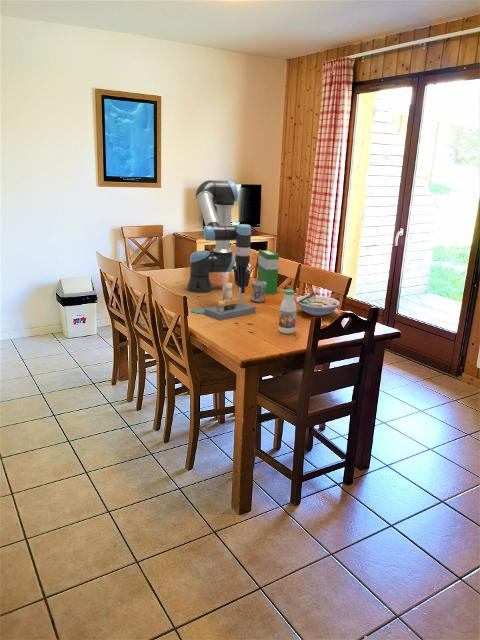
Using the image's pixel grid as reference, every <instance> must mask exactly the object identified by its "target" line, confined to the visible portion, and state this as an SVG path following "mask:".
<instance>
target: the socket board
mask: <svg viewBox="0 0 480 640" xmlns="http://www.w3.org/2000/svg"><path fill="white" fill-rule="evenodd" d="M256 311H257V310H256V306H254V305H251V304H248V303H245V302H241V303H236V306H234V307H232V309H228V310H225V309H224V307H218V305H217V306H212V307H211V306H210V307H205V309H204V314H203V315H205V314H206V315H205V316H208V317H210V316H211V318H213V317H214V318H213V319H215V318H216V320H218V319H219V320H218V321H225V320H228V318H229V319H233V318H237V317H242V316H245V315H246V316H247V315H250V314H254V313H256ZM224 319H225V320H224Z"/></svg>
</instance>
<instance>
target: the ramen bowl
mask: <svg viewBox="0 0 480 640" xmlns="http://www.w3.org/2000/svg"><path fill="white" fill-rule="evenodd" d="M318 294H319V293H318V292H316V293H315V292H312V293H310V294H309V295H302V296H298V297H297V298H296V304H298V306H299V309H301V310H302V311H303V312H305V313H307V314H309V315H310V316H314V317H323V316H325V315H328V314H332V313H333V312H334V311H335V310H336V309H337V308H338V306H339V305H340V301H339V300H338V299H335V298H333V297H329V296H324V295H318Z"/></svg>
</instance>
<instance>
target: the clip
mask: <svg viewBox="0 0 480 640" xmlns="http://www.w3.org/2000/svg"><path fill="white" fill-rule="evenodd" d="M250 301H251V296H249V295H247V296H244V297H241V298H238V297H236V298H232V299H231V300H225V301H222V300H218V301H217V306H218V307H224V306H226V305H231V304H236V303H241V302H242V303H245V302H250Z"/></svg>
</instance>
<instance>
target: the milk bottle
mask: <svg viewBox="0 0 480 640" xmlns="http://www.w3.org/2000/svg"><path fill="white" fill-rule="evenodd" d="M283 293H284V294H283V295H284V297H283V300H282V301H281V303H280V308H279V316H278V317H279V319H278V331H279V333H281V334H287V335H289V334H290V335H291V334H294V333H295V330H296V322H297V321H296V320H297V319H296V318H297V305H296V304H297V303H296V301H295V298H294V296H295V290H293V289H284V292H283Z"/></svg>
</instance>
